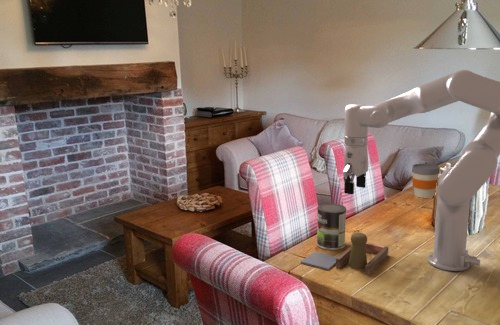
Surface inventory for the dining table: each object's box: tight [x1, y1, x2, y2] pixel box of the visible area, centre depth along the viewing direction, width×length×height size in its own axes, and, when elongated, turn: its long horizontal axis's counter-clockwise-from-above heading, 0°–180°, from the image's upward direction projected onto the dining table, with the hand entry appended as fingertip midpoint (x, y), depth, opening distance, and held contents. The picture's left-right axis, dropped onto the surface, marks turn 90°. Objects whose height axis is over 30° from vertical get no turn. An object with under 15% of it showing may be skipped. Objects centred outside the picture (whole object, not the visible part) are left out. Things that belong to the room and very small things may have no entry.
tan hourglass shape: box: [348, 231, 368, 271], centre depth 147 cm, size 6×6×11 cm
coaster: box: [300, 251, 338, 271], centre depth 152 cm, size 10×10×1 cm
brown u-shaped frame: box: [335, 242, 389, 276], centre depth 151 cm, size 11×18×3 cm, turn 145°
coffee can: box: [316, 203, 347, 251], centre depth 164 cm, size 10×10×14 cm
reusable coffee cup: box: [411, 163, 440, 198], centre depth 221 cm, size 12×13×15 cm
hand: (355, 190), depth 157 cm, fingers open, 9 cm apart
